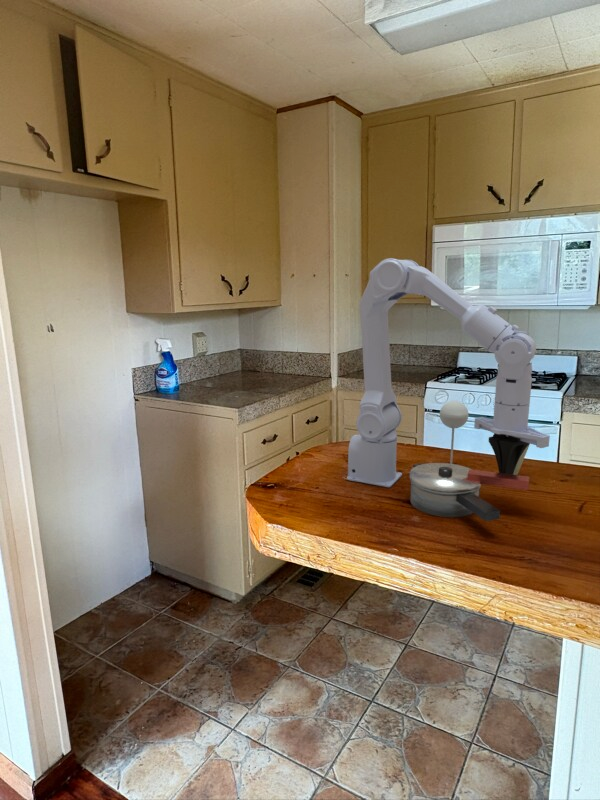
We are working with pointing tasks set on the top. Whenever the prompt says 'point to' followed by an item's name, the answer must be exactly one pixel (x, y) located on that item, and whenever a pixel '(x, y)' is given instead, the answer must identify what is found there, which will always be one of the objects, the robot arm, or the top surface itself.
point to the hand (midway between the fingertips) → (506, 475)
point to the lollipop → (453, 418)
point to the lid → (462, 478)
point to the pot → (451, 503)
